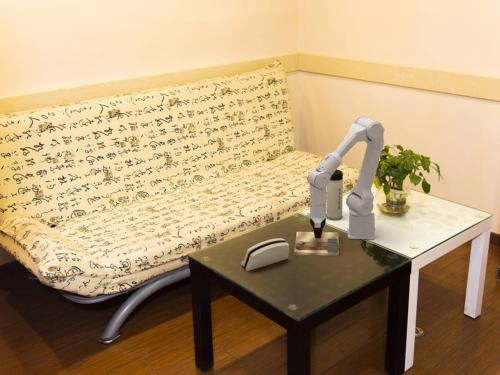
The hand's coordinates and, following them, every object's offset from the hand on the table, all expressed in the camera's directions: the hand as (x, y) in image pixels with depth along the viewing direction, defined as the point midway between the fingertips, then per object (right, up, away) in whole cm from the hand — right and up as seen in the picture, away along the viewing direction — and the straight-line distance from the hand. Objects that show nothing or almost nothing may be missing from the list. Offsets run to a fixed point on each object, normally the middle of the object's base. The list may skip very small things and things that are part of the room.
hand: (317, 237), depth 212 cm
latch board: (0, -3, 0) cm, 3 cm away
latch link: (-1, -3, -4) cm, 6 cm away
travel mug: (+9, +6, +23) cm, 25 cm away
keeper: (+4, -5, -6) cm, 8 cm away
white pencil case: (-19, -8, -12) cm, 24 cm away
